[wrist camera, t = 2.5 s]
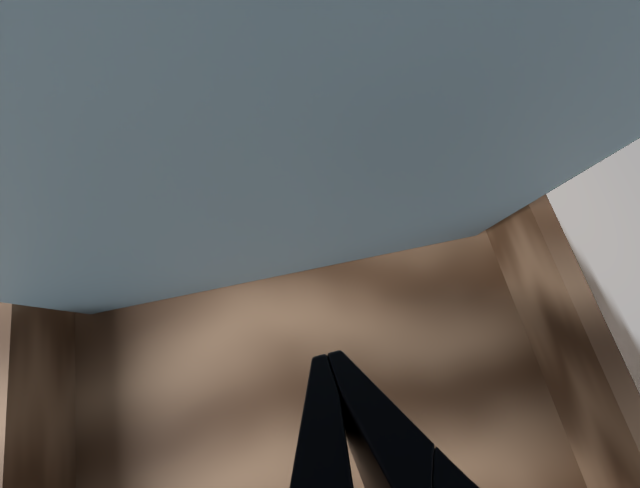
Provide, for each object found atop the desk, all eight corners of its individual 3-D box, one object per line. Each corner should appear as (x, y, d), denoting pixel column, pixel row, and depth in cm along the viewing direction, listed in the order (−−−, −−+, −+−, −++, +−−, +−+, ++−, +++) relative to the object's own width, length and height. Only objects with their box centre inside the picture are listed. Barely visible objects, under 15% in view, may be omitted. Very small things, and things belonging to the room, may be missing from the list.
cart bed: (603, 505, 17) (721, 568, 12) (62, 693, 14) (-66, 883, 9) (488, 219, 22) (541, 185, 17) (64, 303, 18) (-18, 289, 13)
